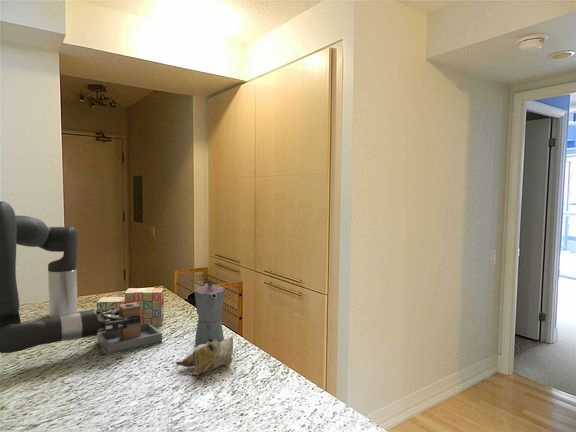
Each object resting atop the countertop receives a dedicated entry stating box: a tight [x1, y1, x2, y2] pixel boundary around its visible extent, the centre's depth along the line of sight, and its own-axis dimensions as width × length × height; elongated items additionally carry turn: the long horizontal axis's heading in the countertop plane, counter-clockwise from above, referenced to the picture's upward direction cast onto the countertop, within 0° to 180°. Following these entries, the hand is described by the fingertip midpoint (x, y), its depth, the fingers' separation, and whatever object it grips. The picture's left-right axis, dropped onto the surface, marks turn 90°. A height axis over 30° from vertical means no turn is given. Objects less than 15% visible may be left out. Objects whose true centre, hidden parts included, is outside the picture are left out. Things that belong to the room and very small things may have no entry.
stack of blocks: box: [96, 287, 165, 327], centre depth 138 cm, size 21×6×12 cm, turn 100°
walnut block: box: [119, 302, 141, 341], centre depth 121 cm, size 5×5×11 cm
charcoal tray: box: [96, 323, 163, 356], centre depth 122 cm, size 12×16×3 cm
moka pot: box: [194, 280, 226, 346], centre depth 123 cm, size 10×15×20 cm, turn 27°
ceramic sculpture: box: [175, 336, 234, 378], centre depth 105 cm, size 11×9×15 cm
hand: (135, 314), depth 122 cm, fingers open, 8 cm apart
